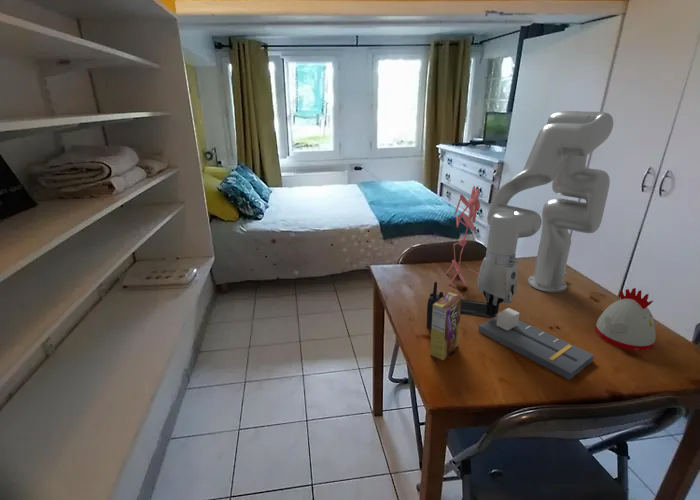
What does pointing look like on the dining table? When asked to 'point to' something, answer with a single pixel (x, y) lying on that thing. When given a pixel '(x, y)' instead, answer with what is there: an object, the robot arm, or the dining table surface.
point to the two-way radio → (431, 301)
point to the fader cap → (508, 319)
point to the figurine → (473, 206)
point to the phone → (474, 308)
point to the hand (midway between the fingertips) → (491, 314)
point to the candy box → (445, 325)
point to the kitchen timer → (628, 322)
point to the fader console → (540, 347)
